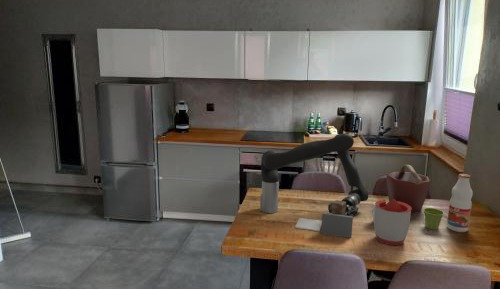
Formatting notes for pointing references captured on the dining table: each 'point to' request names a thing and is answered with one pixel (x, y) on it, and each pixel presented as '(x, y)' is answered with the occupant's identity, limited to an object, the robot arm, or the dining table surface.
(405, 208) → the citrus juicer
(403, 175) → the bucket
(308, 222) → the grey pad
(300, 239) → the dining table surface
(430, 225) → the plant pot
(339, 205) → the walnut block
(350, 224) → the charcoal board
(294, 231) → the dining table surface
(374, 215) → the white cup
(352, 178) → the robot arm
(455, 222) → the fruit juice
